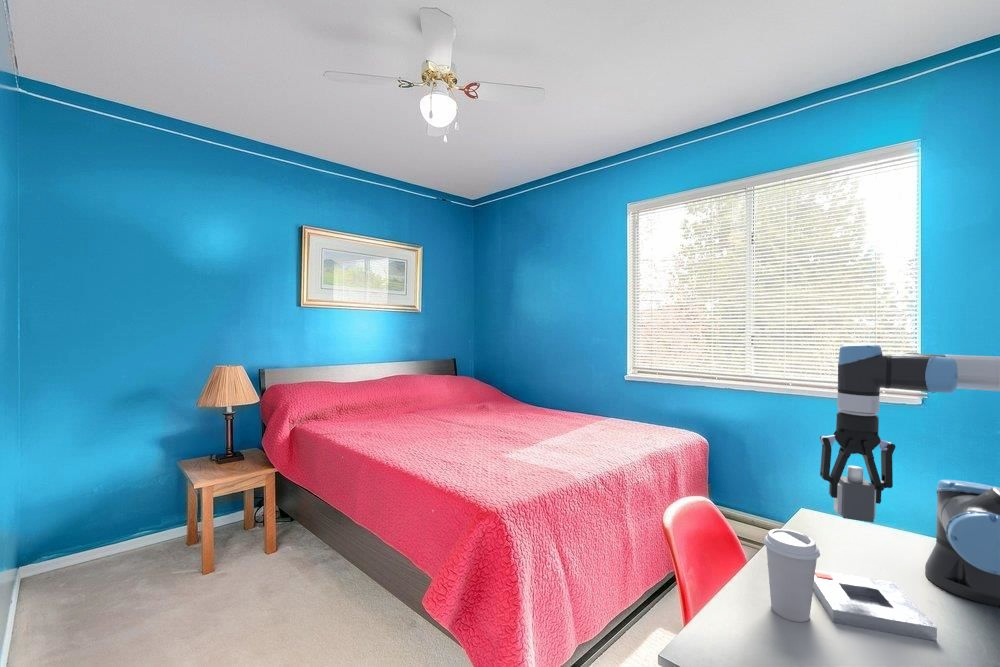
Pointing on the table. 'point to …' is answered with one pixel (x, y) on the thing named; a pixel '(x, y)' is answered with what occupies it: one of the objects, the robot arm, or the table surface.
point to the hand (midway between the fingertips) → (853, 514)
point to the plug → (857, 496)
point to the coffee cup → (791, 572)
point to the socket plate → (871, 605)
